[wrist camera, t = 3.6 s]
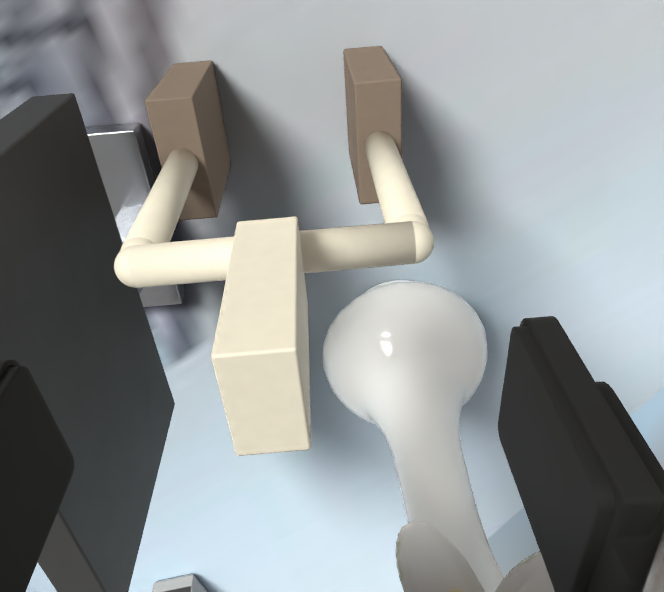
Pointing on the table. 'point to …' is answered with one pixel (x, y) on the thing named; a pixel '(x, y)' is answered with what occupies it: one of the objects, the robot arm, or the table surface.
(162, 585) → the vintage mobile phone
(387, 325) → the flower vase
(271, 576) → the table surface
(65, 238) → the monitor
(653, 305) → the table surface
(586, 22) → the table surface
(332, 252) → the headphones
